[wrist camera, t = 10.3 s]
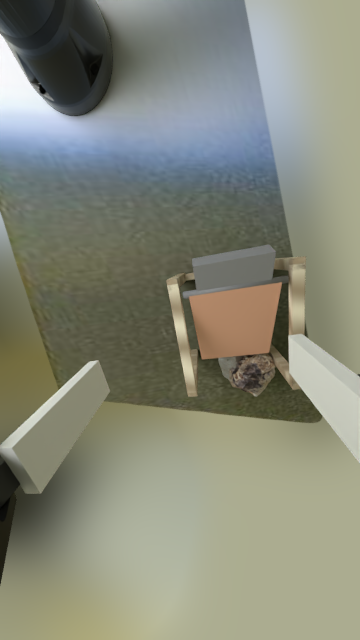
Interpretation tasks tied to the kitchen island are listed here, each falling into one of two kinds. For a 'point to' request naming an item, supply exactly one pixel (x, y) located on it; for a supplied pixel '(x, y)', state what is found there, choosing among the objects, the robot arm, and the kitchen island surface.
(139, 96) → the kitchen island surface
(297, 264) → the frame
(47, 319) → the kitchen island surface
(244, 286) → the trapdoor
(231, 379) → the rock
